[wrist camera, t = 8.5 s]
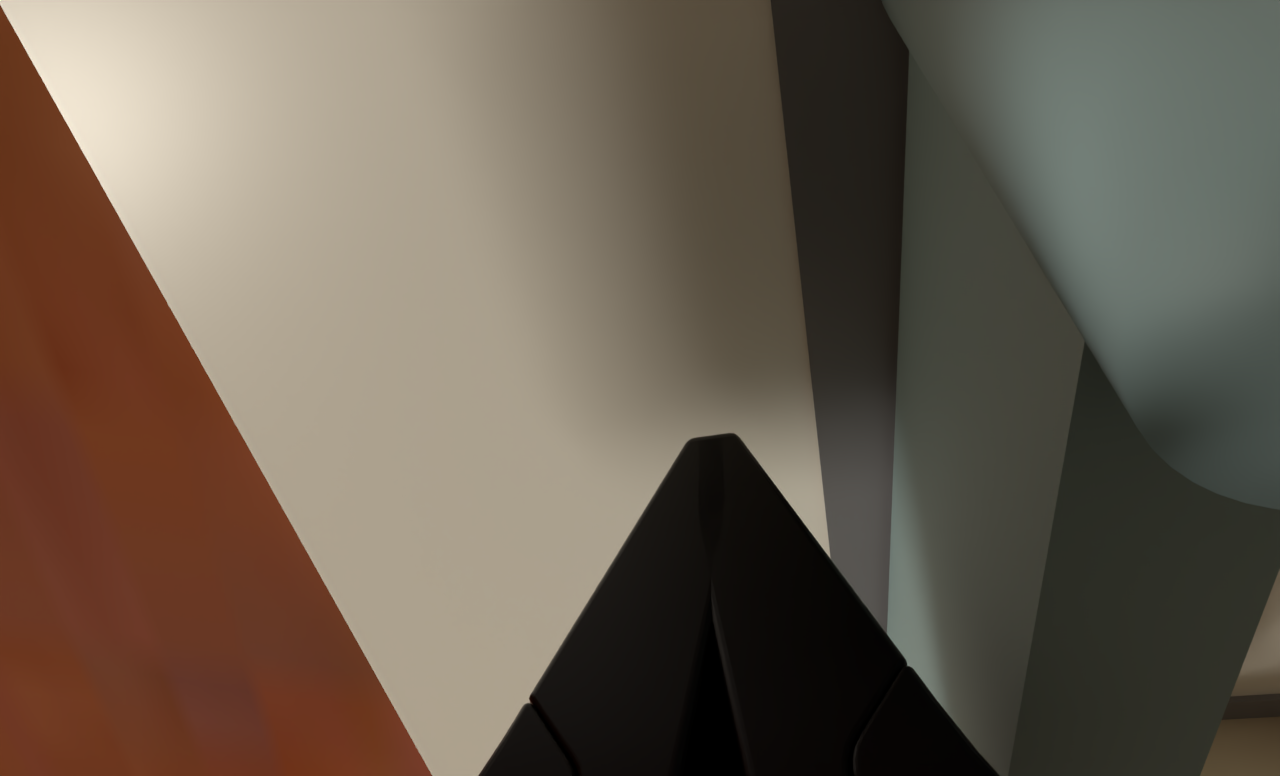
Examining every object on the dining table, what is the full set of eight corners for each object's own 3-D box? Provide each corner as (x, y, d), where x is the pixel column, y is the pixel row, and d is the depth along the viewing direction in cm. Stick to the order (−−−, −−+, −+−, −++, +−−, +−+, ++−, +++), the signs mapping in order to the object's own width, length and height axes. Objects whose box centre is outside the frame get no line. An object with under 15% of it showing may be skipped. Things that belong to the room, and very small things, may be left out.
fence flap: (990, 724, 13) (1135, 1247, 9) (861, 727, 13) (938, 1238, 9) (1128, -202, 7) (1981, -58, 2) (876, -168, 7) (1183, 33, 2)
